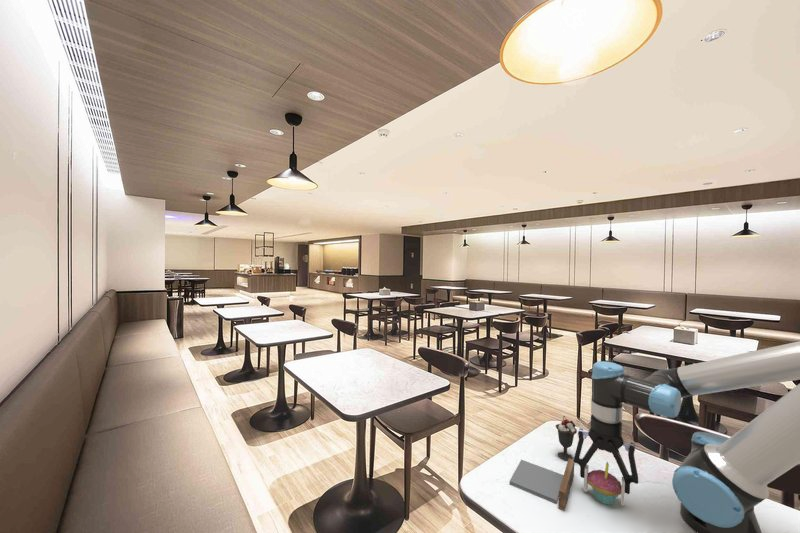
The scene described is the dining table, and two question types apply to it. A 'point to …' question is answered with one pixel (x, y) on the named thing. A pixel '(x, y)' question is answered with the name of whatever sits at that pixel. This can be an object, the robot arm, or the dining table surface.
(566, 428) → the sundae
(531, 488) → the board
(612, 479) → the cupcake
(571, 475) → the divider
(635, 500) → the dining table surface
